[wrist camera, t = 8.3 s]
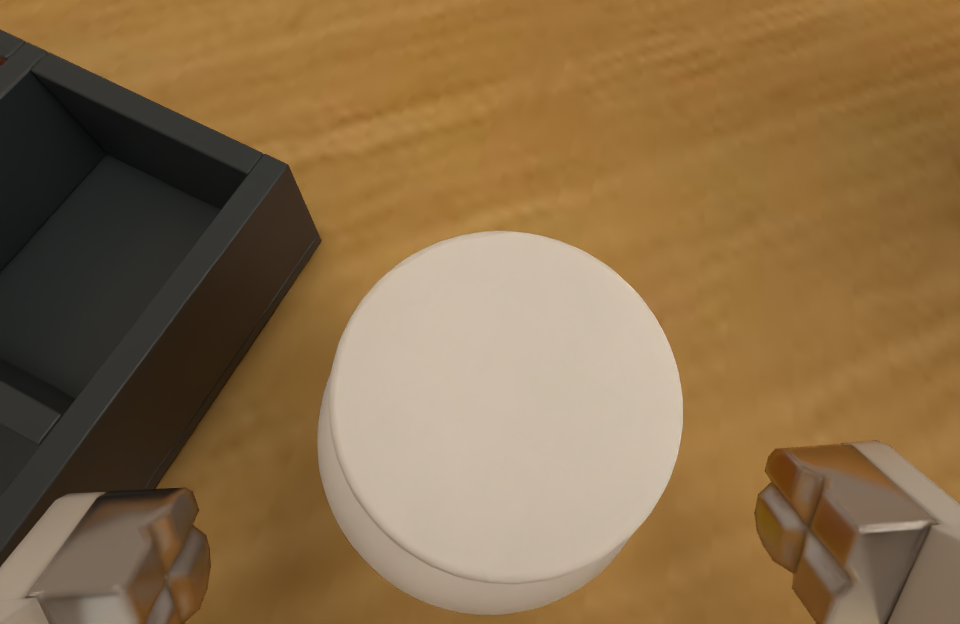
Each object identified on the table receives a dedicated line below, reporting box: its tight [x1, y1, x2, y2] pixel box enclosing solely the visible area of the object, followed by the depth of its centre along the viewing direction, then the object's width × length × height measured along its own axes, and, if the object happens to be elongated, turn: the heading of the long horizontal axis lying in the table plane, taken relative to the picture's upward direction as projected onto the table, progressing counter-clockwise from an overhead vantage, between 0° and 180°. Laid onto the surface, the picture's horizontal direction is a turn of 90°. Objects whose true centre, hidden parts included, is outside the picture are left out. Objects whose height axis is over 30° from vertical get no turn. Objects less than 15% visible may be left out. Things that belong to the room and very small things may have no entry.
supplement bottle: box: [317, 231, 683, 615], centre depth 11 cm, size 5×5×10 cm
